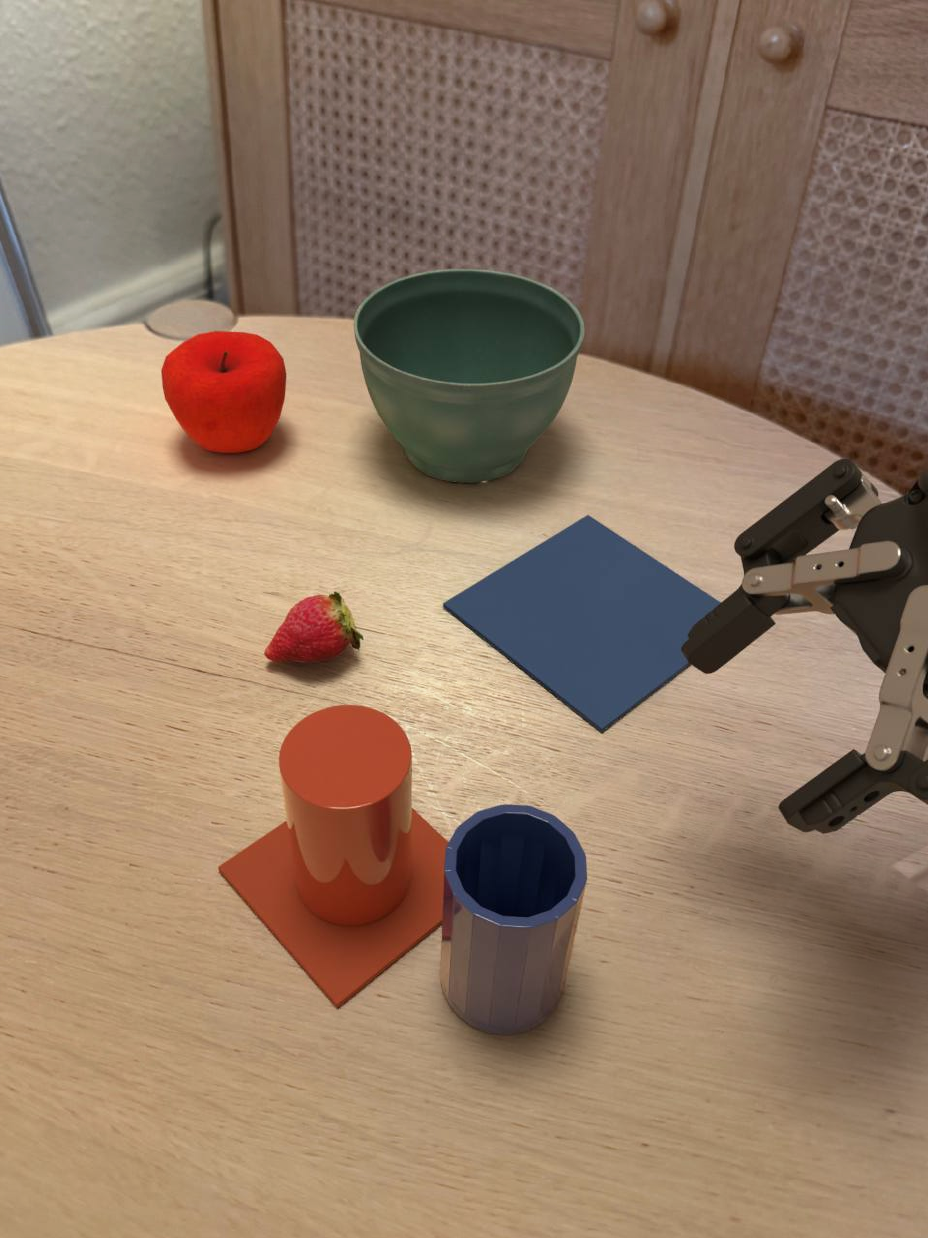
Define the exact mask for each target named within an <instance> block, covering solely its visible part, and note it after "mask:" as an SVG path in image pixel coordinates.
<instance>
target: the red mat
mask: <svg viewBox="0 0 928 1238" xmlns="http://www.w3.org/2000/svg"><path fill="white" fill-rule="evenodd" d="M448 843H449V841H448V840H447V839H446V838H445V837H444V836H443V835H442V834H440V833H439V831H438V830H436V829H435V828H434V827H433V826H432V825H431V823H429V822H428V821H427V820H426V819H424V817H422V815H420V813H418V811H416V809H414V808H413V807H412V876H411V883H410V886H409V889H408V891H407V893H406V895H405V897H404V898H403V900H402V901H401V903H400V904H399V905H398V906H397V907H396V908H395V909H394V910H393V911H392V912H390V913H389V914H387V915H386V916H384V917H383V918H381V919H379V920H376V921H374V922H371V923H367V924H363V925H356V926H345V925H338V924H334V923H331V922H328V921H325V920H323V919H321V918H319V917H318V916H316V915H315V914H314V913H312V912H311V911H310V910H309V909H308V908H307V907H306V906H305V904H304V903H303V902H302V900H301V898H300V896H299V894H298V891H297V888H296V883H295V876H294V869H293V862H292V855H291V848H290V840H289V833H288V826H287V819H286V820H285V821H283V822H282V823H281V824H279V825H278V826H276V827H274V828H273V829H272V830H270V831H269V832H267V833H266V834H265V835H263V836H261V837H260V838H259V839H257V840H256V841H254V842H253V843H250V844H249V845H248V846H247V847H245V848H244V849H242V850H241V851H239V852H238V853H236V854H235V855H233V856H231V858H229V859H228V860H226V861H225V862H223V863H222V864H220V865H219V866H218V867H217V868H218V872H219V873H220V874H221V875H222V877H223V878H224V879H225V880H226V881H227V882H228V884H229V885H230V886H231V887H232V888H233V889H234V890H235V892H236V893H237V894H238V895H239V896H240V897H241V899H243V901H244V902H245V903H246V904H247V906H248V907H249V908H250V909H251V910H252V911H253V912H254V914H255V915H256V916H257V917H258V918H259V919H260V921H261V922H262V923H263V924H264V925H265V926H266V928H268V930H269V931H270V932H271V934H273V935H274V937H275V938H276V939H277V940H278V941H279V942H280V944H281V945H282V946H283V947H284V948H285V949H286V951H287V952H288V953H289V954H290V955H291V956H292V958H293V959H294V960H295V961H296V962H297V964H298V965H299V966H300V967H301V968H302V969H303V970H304V971H305V972H306V974H307V975H308V976H309V977H310V978H311V979H312V981H313V982H314V983H315V984H316V985H317V987H318V988H319V989H320V990H321V991H322V992H323V994H325V996H326V997H327V998H328V999H329V1000H330V1002H332V1004H333V1005H334V1006H335V1007H336V1008H338V1009H339V1008H340V1007H341V1006H342V1005H343V1004H344V1003H346V1002H347V1001H348V1000H349V999H350V998H352V997H353V996H354V995H355V994H357V993H358V992H359V991H360V990H362V989H363V988H364V987H366V986H367V985H368V984H369V983H371V982H372V981H373V980H374V979H375V978H376V977H378V976H379V975H381V973H383V972H384V971H385V970H386V969H388V968H389V967H391V965H392V964H394V963H395V962H396V961H398V960H399V959H400V958H401V957H402V956H404V955H405V954H406V953H408V952H409V951H410V950H411V949H413V947H415V946H416V945H417V944H418V943H420V942H421V941H422V940H423V939H425V938H426V937H427V936H428V935H430V934H431V933H432V932H434V931H435V930H436V929H437V928H439V926H442V916H443V891H444V868H445V851H446V846H447V845H448Z"/></svg>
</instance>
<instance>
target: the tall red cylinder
mask: <svg viewBox="0 0 928 1238" xmlns="http://www.w3.org/2000/svg"><path fill="white" fill-rule="evenodd" d="M412 764H413V752H412V745H411V742H410V739H409V737H408V735H407V734H406V732H405V731H404V729H403V728H402V726H401V725H400V724H399V723H398V722H397V721H396V720H395V719H394V718H392V717H390V716H389V715H387V714H386V713H385V712H382V711H380V710H377V709H375V708H372V707H368V706H364V705H357V704H341V705H333V706H328V707H324V708H322V709H318V710H316V711H313V712H312V713H310V714H308V715H307V716H305V717H303V718H301V719H300V720H299V721H298V722H297V723H296V724H294V726H293V727H292V728H291V729H290V730H289V731H288V733H287V734H286V736H285V737H284V739H283V741H282V743H281V746H280V749H279V753H278V767H279V768H278V769H279V776H280V783H281V789H282V797H283V804H284V811H285V819H286V820H287V826H288V833H289V840H290V848H291V855H292V862H293V869H294V876H295V883H296V888H297V891H298V894H299V896H300V898H301V900H302V902H303V903H304V904H305V906H306V907H307V908H308V909H309V910H310V911H311V912H312V913H314V914H315V915H316V916H318V917H319V918H321V919H323V920H325V921H328V922H331V923H334V924H338V925H345V926H356V925H363V924H367V923H371V922H374V921H376V920H379V919H381V918H383V917H384V916H386V915H387V914H389V913H390V912H392V911H393V910H394V909H395V908H396V907H397V906H398V905H399V904H400V903H401V901H402V900H403V898H404V897H405V895H406V893H407V891H408V889H409V886H410V883H411V876H412V808H413V805H412V803H413V801H412V797H413V795H412V794H413V792H412V791H413V790H412V789H413V788H412V787H413V786H412V785H413V783H412V782H413V780H412V779H413V777H412V776H413V773H412V771H413V768H412V767H413V765H412Z"/></svg>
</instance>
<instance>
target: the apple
mask: <svg viewBox="0 0 928 1238" xmlns="http://www.w3.org/2000/svg"><path fill="white" fill-rule="evenodd" d="M160 373H161V384H162V392H163V396H164V400H165V402H166V404H167V405H168V407H169V409H170V411H171V413H172V414H173V416H174V418H175V420H176V421H177V423H178V424H179V426H180V427H181V428H182V430H183V431H184V432H185V433H186V434H187V435H188V437H189V438H190V439H191V440H192V441H193V442H194V443H195V444H197V445H198V446H199V447H201V448H202V449H203V450H207V451H208V452H214V453H222V454H223V453H224V454H235V453H236V454H237V453H244V452H249V451H253V450H255V449H257V448H259V447H260V446H262V445H263V444H264V443H265V442H266V441H267V440H268V439H269V438H270V437H271V435H272V433H273V432H274V430H275V428H276V426H277V424H278V423H279V420H280V418H281V416H282V412H283V407H284V404H285V398H286V391H287V390H286V389H287V369H286V364H285V360H284V357H283V356H282V354H281V353H280V351H278V348H276V346H275V345H274V344H273V343H272V341H269V340H268V339H266V338H264V337H262V336H261V335H259V334H256V333H250V332H245V331H227V330H226V331H225V330H212V331H207V332H202V333H197V334H196V335H194V336H191V337H190V338H188V339H186V340H184V341H183V342H181V343H180V344H179V345H178V346H176V347H175V348H174V349H173V350H172V351H170V352H169V353H168V354H167V355H166V356H165V358H164V360H163V364H162V367H161V370H160Z"/></svg>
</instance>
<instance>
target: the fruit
mask: <svg viewBox="0 0 928 1238" xmlns="http://www.w3.org/2000/svg"><path fill="white" fill-rule="evenodd" d="M361 641H364V635H362V634H361V632H360V631H359V630H358V629H357V626H356V624H355V619H354V617H353V614H352V612H351V609H350V608H349V607H348V606H347V604H346V603H345V599H343V596H341V594H340V592H337V591H333V593H331V594H328V595H325V594H315V595H312V596H306V597H305V598H302V600H300V601H299V602H297V603H296V604H295V605H294V606H292V607H291V608H290V609H289V611H288V613H287V614H286V615H285V619H284V621H283V622H282V624H281V625H279V626H278V628H277V630H276V632H275V634H274V635H273V637H272V638H271V641H270V642H269V644H268V645H267V646H266V648H265V649H264V653H263V655H264V657H265V658H266V659H267V660H269V661H271V662H273V663H281V662H283V663H284V662H287V663H291V662H297V663H305V664H312V663H320V662H321V663H322V662H329V661H333V660H334V659H335V658H337V657H339V656H340V655H342V654H343V653H344V652H345V651H346V650H347V649H348V648H349V646H351V648H353V649H354V650H358V651H360V648H361Z"/></svg>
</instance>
